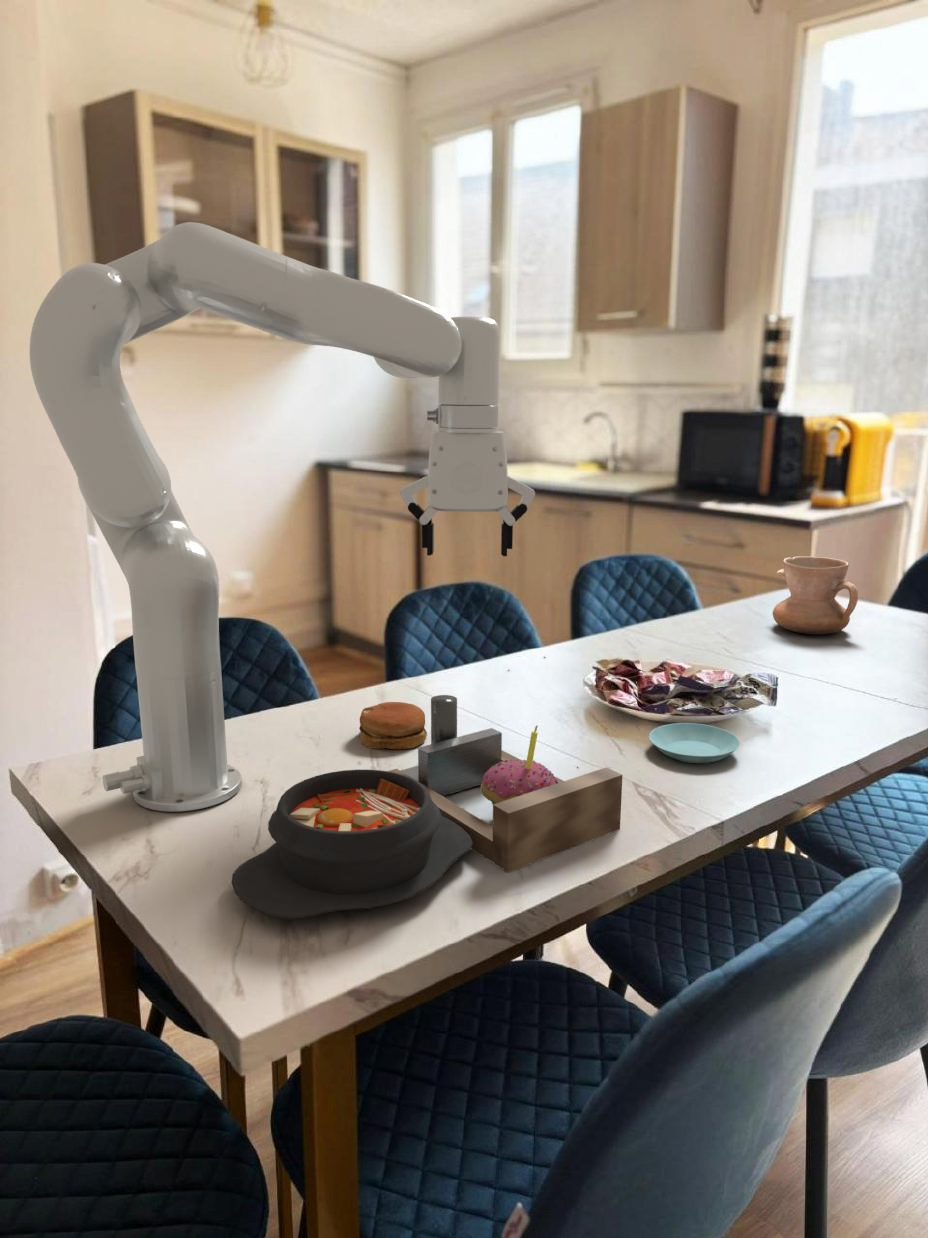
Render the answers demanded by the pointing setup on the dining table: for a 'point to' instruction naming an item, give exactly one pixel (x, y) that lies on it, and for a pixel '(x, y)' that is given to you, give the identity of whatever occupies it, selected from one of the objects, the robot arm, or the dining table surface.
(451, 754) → the ram
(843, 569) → the ceramic jug
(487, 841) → the press bed
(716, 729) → the saucer
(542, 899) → the dining table surface
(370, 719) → the burger
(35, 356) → the robot arm
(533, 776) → the cupcake
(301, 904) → the casserole
